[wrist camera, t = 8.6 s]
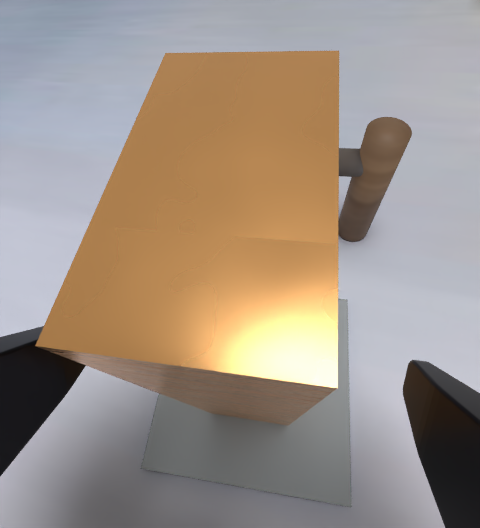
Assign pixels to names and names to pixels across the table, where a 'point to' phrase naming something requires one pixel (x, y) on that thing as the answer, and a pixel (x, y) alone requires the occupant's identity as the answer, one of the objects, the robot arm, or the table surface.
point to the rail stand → (370, 173)
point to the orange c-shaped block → (217, 240)
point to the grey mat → (261, 443)
